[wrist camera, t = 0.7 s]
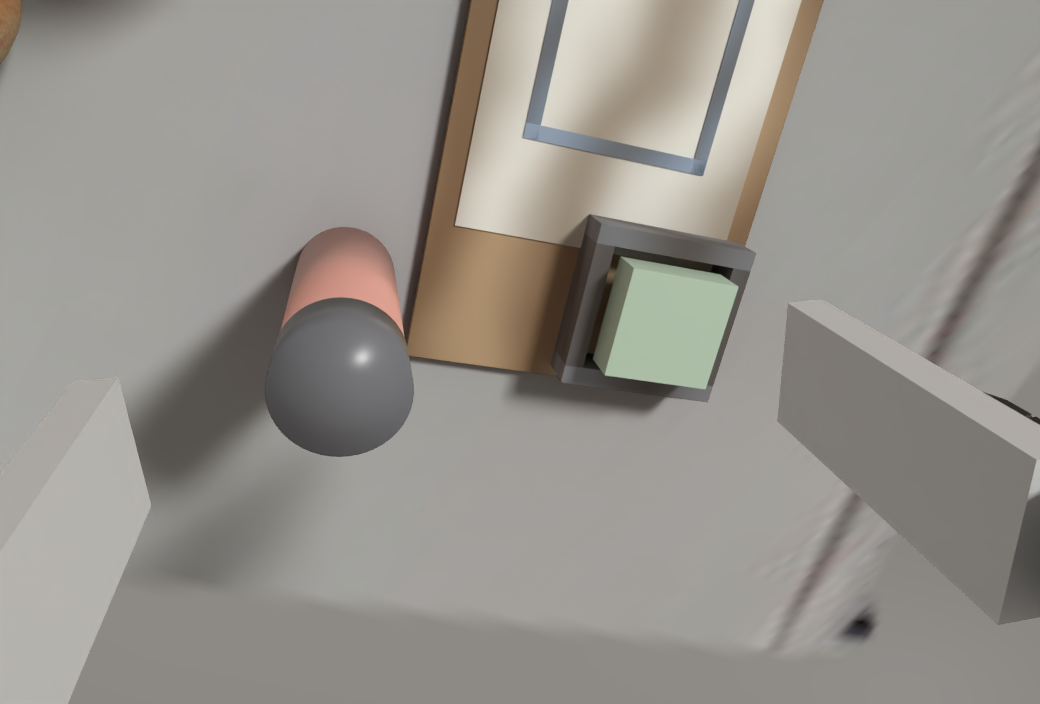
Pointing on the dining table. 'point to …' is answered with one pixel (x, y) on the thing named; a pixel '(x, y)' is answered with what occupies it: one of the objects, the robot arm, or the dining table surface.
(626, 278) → the button
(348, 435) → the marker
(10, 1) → the fruit
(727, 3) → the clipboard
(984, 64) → the dining table surface
